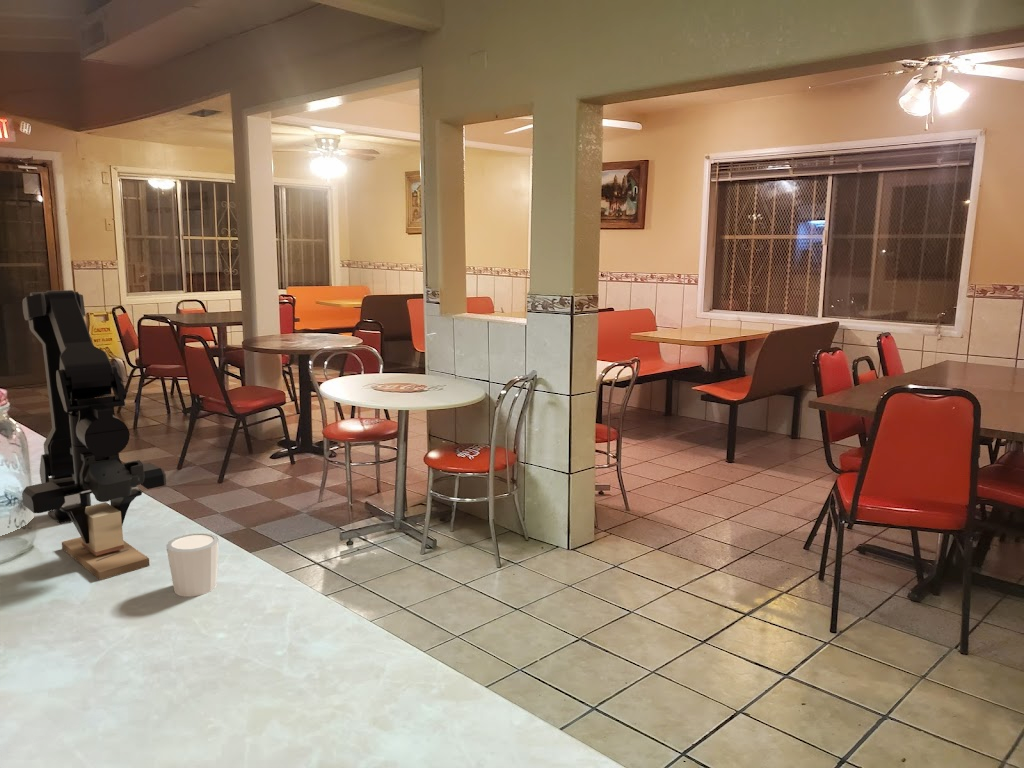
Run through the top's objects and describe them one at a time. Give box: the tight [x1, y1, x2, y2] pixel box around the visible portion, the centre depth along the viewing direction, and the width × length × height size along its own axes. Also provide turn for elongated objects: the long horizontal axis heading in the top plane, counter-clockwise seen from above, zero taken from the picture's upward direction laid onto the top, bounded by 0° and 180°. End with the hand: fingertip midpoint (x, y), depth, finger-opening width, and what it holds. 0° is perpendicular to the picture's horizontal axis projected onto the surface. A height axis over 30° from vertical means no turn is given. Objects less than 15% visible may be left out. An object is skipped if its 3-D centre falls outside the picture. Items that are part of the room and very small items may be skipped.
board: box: [61, 536, 150, 581], centre depth 117 cm, size 16×7×1 cm, turn 48°
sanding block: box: [80, 502, 124, 556], centre depth 116 cm, size 6×4×6 cm, turn 48°
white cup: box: [165, 532, 220, 597], centre depth 106 cm, size 7×7×7 cm
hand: (101, 539), depth 116 cm, fingers closed on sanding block, 4 cm apart
